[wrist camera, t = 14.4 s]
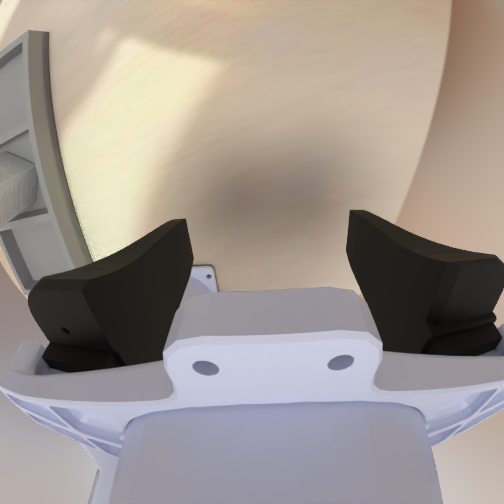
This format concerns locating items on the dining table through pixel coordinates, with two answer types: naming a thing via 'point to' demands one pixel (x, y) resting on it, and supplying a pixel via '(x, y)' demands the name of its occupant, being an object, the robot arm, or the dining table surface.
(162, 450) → the robot arm
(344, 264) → the dining table surface
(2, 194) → the skincare box
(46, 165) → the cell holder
